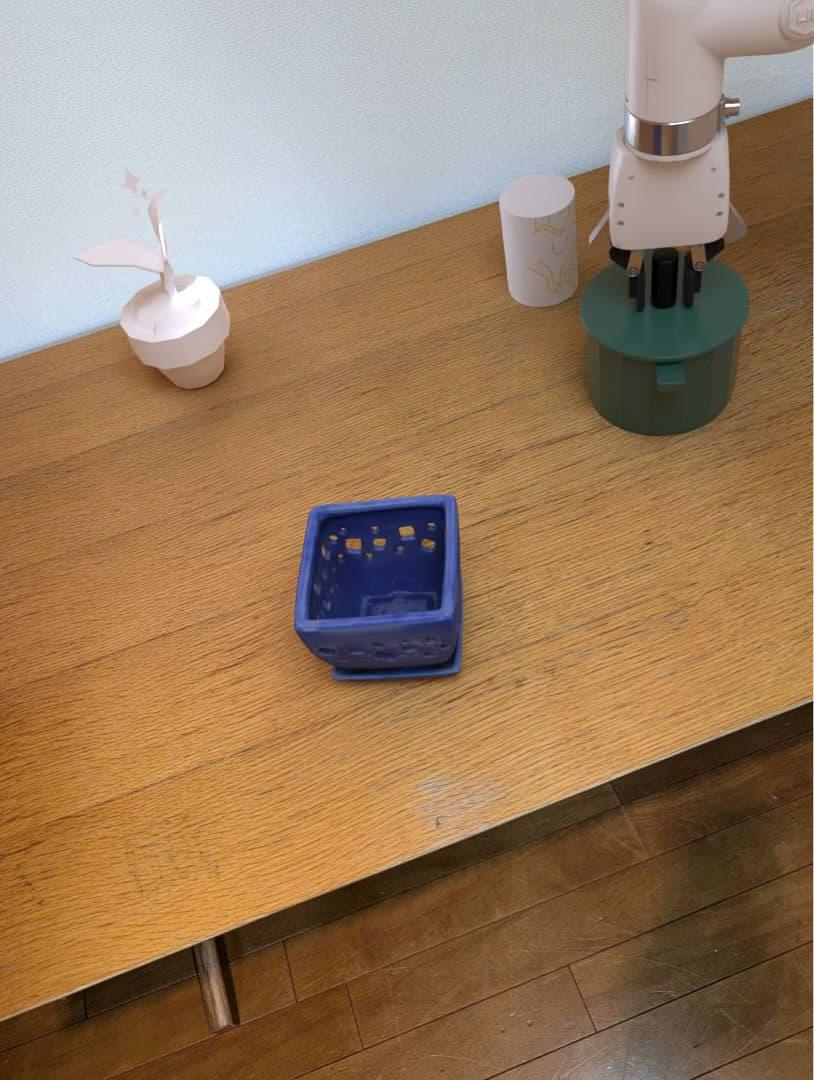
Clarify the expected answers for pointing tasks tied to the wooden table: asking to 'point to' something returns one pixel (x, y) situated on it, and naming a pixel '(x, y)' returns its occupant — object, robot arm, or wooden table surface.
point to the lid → (664, 309)
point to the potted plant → (168, 307)
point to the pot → (661, 388)
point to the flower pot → (383, 589)
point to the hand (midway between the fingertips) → (663, 297)
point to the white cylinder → (540, 239)
